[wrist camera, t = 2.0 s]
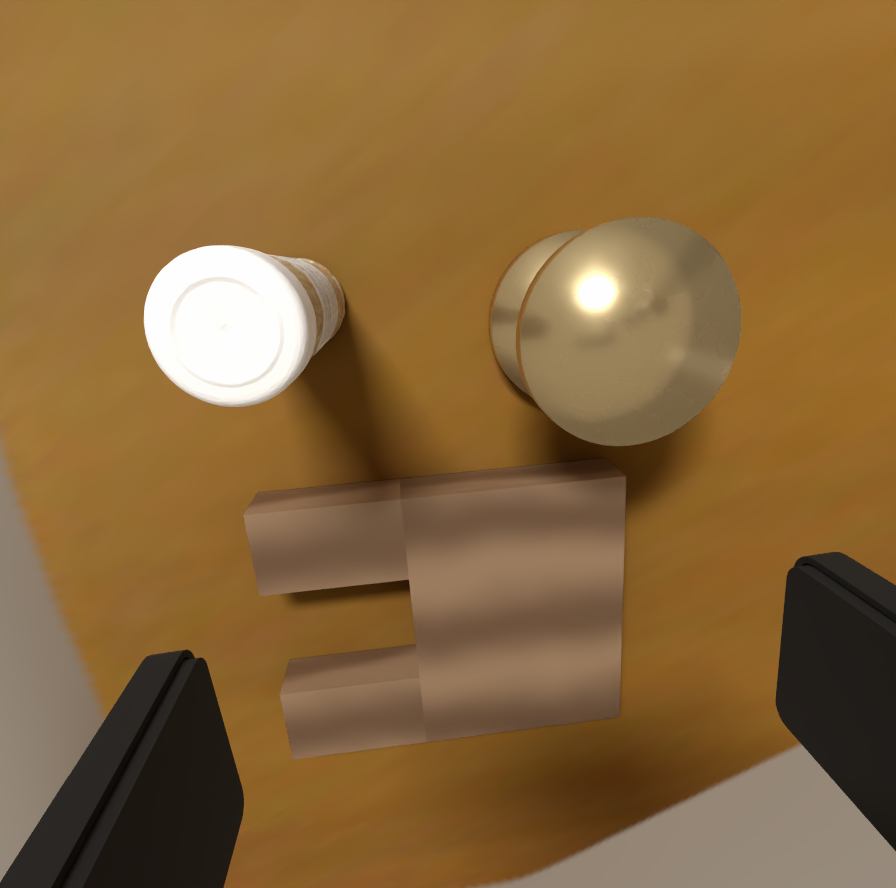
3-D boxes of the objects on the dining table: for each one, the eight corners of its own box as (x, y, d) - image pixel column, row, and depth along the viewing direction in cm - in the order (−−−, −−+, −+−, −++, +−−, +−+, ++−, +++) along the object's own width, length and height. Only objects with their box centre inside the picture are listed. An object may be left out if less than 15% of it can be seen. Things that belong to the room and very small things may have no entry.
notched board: (257, 492, 31) (243, 515, 28) (605, 457, 32) (626, 476, 29) (301, 720, 36) (292, 759, 33) (602, 682, 37) (619, 716, 34)
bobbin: (484, 237, 28) (516, 225, 20) (656, 225, 29) (751, 208, 21) (492, 409, 31) (524, 455, 23) (649, 395, 31) (731, 435, 24)
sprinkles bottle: (256, 345, 29) (143, 405, 16) (255, 251, 27) (130, 235, 14) (346, 351, 29) (307, 415, 16) (349, 260, 28) (309, 252, 15)
